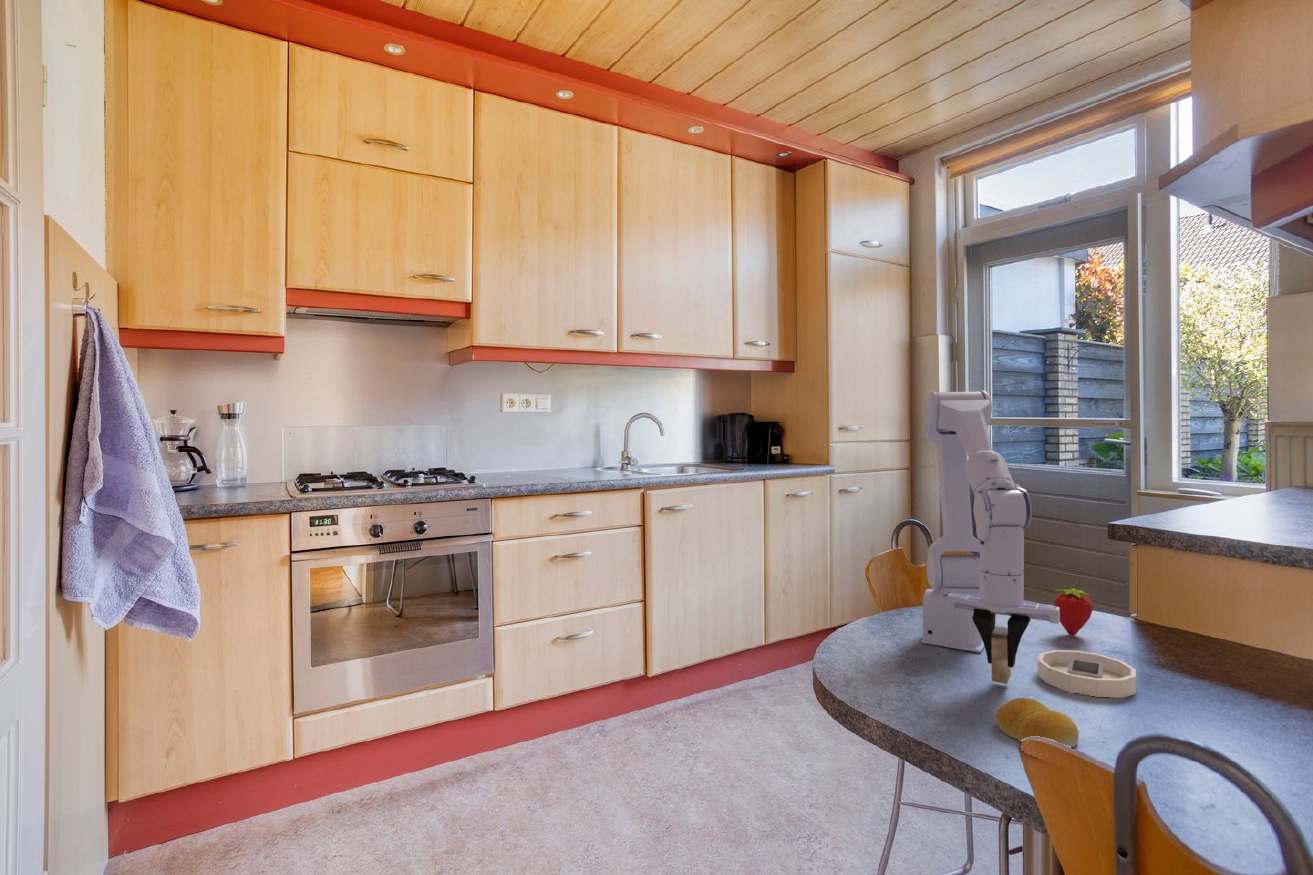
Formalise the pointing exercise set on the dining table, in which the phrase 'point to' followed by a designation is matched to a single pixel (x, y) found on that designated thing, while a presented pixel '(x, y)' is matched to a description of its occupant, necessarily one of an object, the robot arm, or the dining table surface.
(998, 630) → the tan cardboard box
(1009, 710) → the bread roll
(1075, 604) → the strawberry
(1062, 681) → the beige faceted bowl
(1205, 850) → the dining table surface
